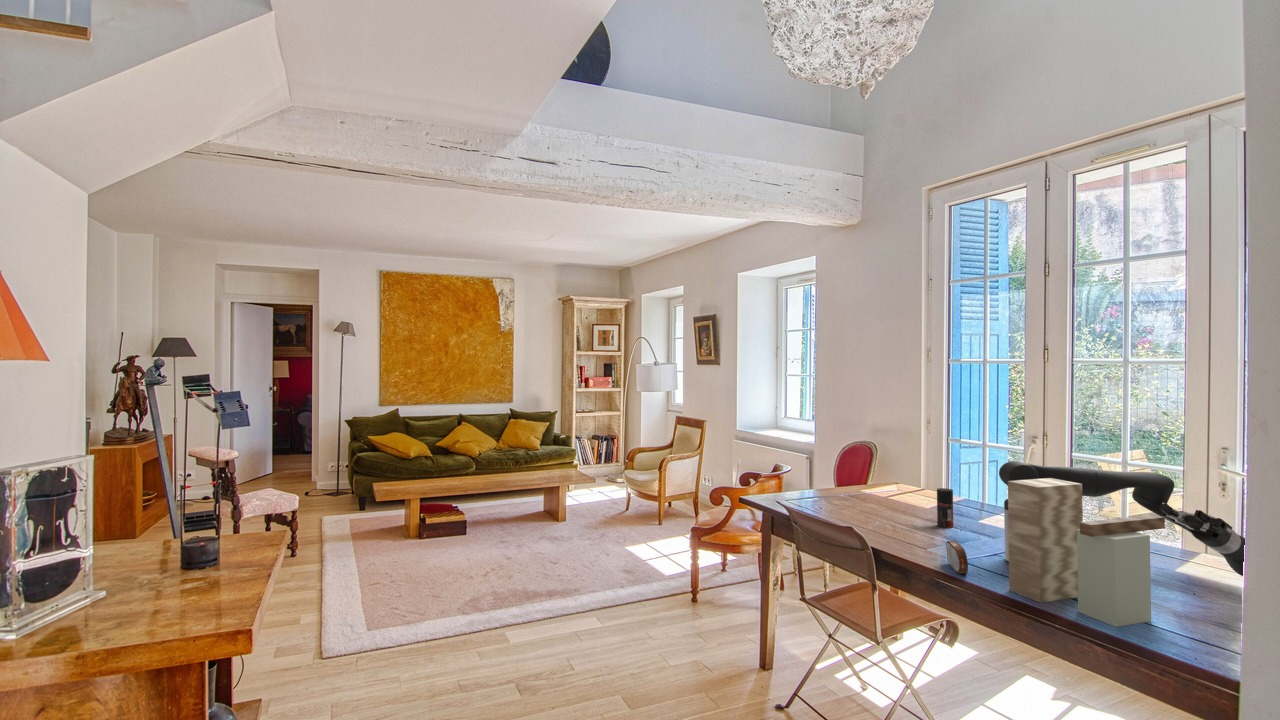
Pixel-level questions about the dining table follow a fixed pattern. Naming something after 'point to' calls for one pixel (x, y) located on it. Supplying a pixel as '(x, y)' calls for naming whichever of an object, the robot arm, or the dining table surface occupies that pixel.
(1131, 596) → the green plinth
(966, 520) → the dining table surface
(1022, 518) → the stand
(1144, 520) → the walnut bar
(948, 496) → the deodorant
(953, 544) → the tin
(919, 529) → the dining table surface
